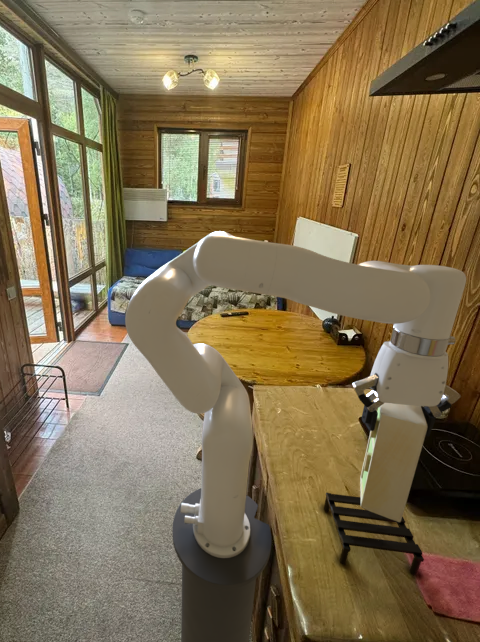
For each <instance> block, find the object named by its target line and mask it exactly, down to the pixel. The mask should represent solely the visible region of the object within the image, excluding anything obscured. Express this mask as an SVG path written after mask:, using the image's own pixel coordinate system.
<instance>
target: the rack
mask: <svg viewBox="0 0 480 642" xmlns="http://www.w3.org/2000/svg"><path fill="white" fill-rule="evenodd" d="M335 503H337V504H345V505H353V506H361V498H360V496H353V495H344V494H336V493H332V492H325V500H324V505H323V511H324V512H325V513H329V512H330V513H331V516H332V519H333V522H334V525H335V528H336V532H337V535H338V537H339V541H340V543H341V551H340V555H339V560H338V561H339V562H340V564H341V565H342V566H346V564H347V561H348V558H349V553H350V552H351V550H352V548H351V547H358V548H367V549H373V550H380V551H389V552H396V553H403V554H411V555H413V558H412V560H411V564H410V567H409V572H410V573H411V574H412V575H413V576H417V575H418V574H419V570H420V567H421V565H422V563H424V561H425V558H424V556H423V551H422V549H421V547H420V546H419V544H418V543H416V542H415V540H414V535H413V533H412V531H411V529H410V528H407V525H406V519H405V518H404V517H403V516H404V515H403V516H402V519H401V522H397V521H394V520H392V519H389V518H386V517H384V516H381V515H378V514H376V513H373V512H371V511H368V510H366V509H363V508H354V507H345V506H338V505H336V504H335ZM340 516H342V517H349V518H356V519H365V520H372V521H381V522H388V523H395V524H396V525H397V526H391V525H385V524H384V525H383V524H378V523H377V524H376V523H368V522H361V521H352V520H345V519H341V517H340ZM345 531H352V532H358V533H366V534H367V533H368V534H374V535H382V536H391V537H397V538H404V540H405V541H404V542H402V541H395V540H388V539H381V538H373V537H365V536H358V535H357V536H356V535H351V534H346V532H345Z"/></svg>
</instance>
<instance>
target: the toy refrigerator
mask: <svg viewBox="0 0 480 642" xmlns="http://www.w3.org/2000/svg"><path fill="white" fill-rule="evenodd" d="M376 411H377V412H378V416H377V420H376V425H375V429H374V430H373V431H369V436H368V440H367V445H366V450H365V454H364V459H363V463H362V468H361V472H360V478H359V486H360V487H359V488H360V489H359V494H360V495H359V497H360V498H361V505H360V507H361V509H363V510H368V511H371V512H373V513H376V514H378V515H381V516H384V517H386V518H389V519H392V520H394V521H397V522H401V519H402V516H404V512H405V508H406V506H407V502H408V498H409V494H410V491H411V487H412V484H413V480H414V477H415V474H416V470H417V467H418V463H419V460H420V456H421V452H422V449H423V445H424V442H425V438H426V436H425V435H426V431H427V423H426V420H425V417H424V414H423V411H422V408H421V406H415V405H403V404H392V403H384V404H383V405H381V406H380V407H379V408H377V409H376Z"/></svg>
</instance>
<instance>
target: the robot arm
mask: <svg viewBox="0 0 480 642" xmlns="http://www.w3.org/2000/svg"><path fill="white" fill-rule="evenodd" d="M466 282H467V275H466V273H465V272H464V271H462V270H460V269H459V268H454V267H451V266H445V265H437V264H416V265H407V264H402V263H401V264H400V263H393V262H388V261H383V260H368V261H364V262H360V263H352V262H347V261H343V260H340V259H336V258H332V257H330V256H326V255H323V254H321V253H318V252H316V251H314V250H311V249H307V248H305V247H301V246H297V245H294V244H293V245H292V244H285V243H278V242H272V241H271V242H269V241H264V240H257V239H256V240H255V239H252V238H251V239H250V238H245V237H239V236H234V235H233V234H231V233H229V232H226V231H221V230H219V231H213V232H210V233H208V234H207V235H206V236H204V237H203V238H201V239H199V241H198V242H196V243H195V244H193V245H192V246H191V247H189V248H187V249H186V250H185V251H183V252H182V253H180V254H179V255H177V256H176V257H174V258H173V259H172V260H170V261H168V262H167V263H165V264H163V265H162V266H160V267H159V268H158V269H157V270H155V271H154V272H153V273H152V274H150V275H149V276H148V277H147V278H145V279H144V280H143V281H142V282H141V284H139V286H138V287H137V288H136V289H135V291H134V292H133V294H132V296H131V297H130V299H129V302H128V305H127V306H126V307H127V308H126V310H125V316H124V317H125V318H124V322H125V328H126V332H127V335H128V338H129V339H130V341H131V343H132V344H133V345H134V347H135V348H136V349H137V350H138V351H139V352H140V353H141V355H142V356H143V357H144V358H145V359H146V360H147V362H148V363H149V364H150V366H151V367H152V369H153V370H154V371H155V373H156V374H157V375H158V377H159V378H160V379H161V380H162V382H163V383H164V384H165V386H166V387H167V389H168V390H169V391H170V393H172V395H173V396H174V397H175V399H176V400H177V401H178V403H179V404H180V405H181V406H182V407H183V408H184V409H185V410H187V411H188V412H190V413H192V414H196V415H197V414H198V415H200V414H201V415H202V414H204V415H203V423H202V432H201V483H200V485H201V486H200V487H201V499H200V504H197V503H196V504H195V505H190V504H186V503H182V502H181V503H182V504H181V503H180V504H181V513H185V514H188V513H189V514H195V515H194V517H191V516H185V520H184V523H188V524H190V523H191V524H193V532H194V536H195V539H196V540H197V542H198V544H199V545H200V547H201V548H202V549H203V550H204V551H206V552H207V553H209V554H210V555H212V556H215V557H218V558H230V557H234V556H236V555H238V554H240V553H241V552H242V551H243V550H244V549H245V547H246V546H247V544H248V542H249V538H250V523H249V520H248V518H247V516H246V514H245V503H246V495H247V490H248V479H249V470H250V469H249V468H250V460H251V456H252V451H253V446H254V445H253V444H254V431H253V421H252V420H253V419H252V412H251V401H250V395H249V393H248V391H247V389H246V388H245V386H244V385H243V383H242V381H241V380H240V379H239V377H238V376H237V374H236V373H235V372H234V371H233V369H232V368H231V366H230V365H229V363H228V362H227V361H226V359H225V358H224V356H223V355H222V353H220V352H219V351H218V350H217V349H216V348H214V347H213V346H211V345H209V344H206V343H200V342H199V343H193V342H192V340H191V339H190V337H188V335H187V334H186V333H185V332H184V331H183V330H182V329H181V328H180V327H178V326H177V321H178V319H179V317H180V315H181V314H182V313H183V312H184V309H185V308H186V306H187V304H188V302H189V300H190V299H192V298H193V297H194V296H196V295H198V294H199V293H200V292H202V291H203V290H206V289H207V288H208V287H210V286H213V287H218V288H224V289H230V290H236V291H242V292H246V293H253V294H260V295H264V296H271V297H276V298H281V299H286V300H290V301H292V302H294V303H297V304H300V305H303V306H308V307H311V308H315V309H318V310H321V311H325V312H328V313H332V314H335V315H338V316H343V317H347V318H352V319H357V320H361V321H363V320H364V321H369V322H375V323H380V324H381V323H382V324H390V325H393V326H392V330H391V334H390V339H389V341H384V342H383V344H382V345H381V346H380V348H379V350H378V353H377V355H376V357H375V359H374V363H373V366H372V368H371V372H370V374H369V376H367V377H364V378H363V379H359V380H356V381H354V382H352V383H351V387H352V388H353V390H354V392H355V395H356V397H357V398H358V399H359V401H360V402H361V403H362V404H363V408H362V409H363V410H362V414H361V421H362V423H363V424H364V425H365V426H366V428H367V430H368V431H369V432H370V431H373V430H374V429H375V425H376V420H377V416H378V412H377V411H376V409H377V408H379V407H380V406H381V405H383V404H384V403H392V404H403V405H415V406H421V408H422V411H423V414H424V417H425V420H426V423H427V431H426V435H425V437H430V436H431V433H432V430H433V429H434V425H435V422H436V419H437V418H441V416H442V413H443V412H445V411H447V410H449V409H451V407H452V404H453V405H454V404H455V403H456V402H457V401H458V400H459V399H460V398H461V394H460V393H458V392H457V390H455V389H453V388H452V387H450V386H449V385H447V380H448V373H449V372H448V371H449V354H448V352H447V349H448V346H449V345H455V344H456V342H457V340H456V337H455V336H453V335H451V334H452V330H453V327H454V324H455V321H456V317H457V313H458V310H459V308H460V305H461V304H460V303H461V300H462V297H463V294H464V291H465V288H466ZM367 389H370V390H371V391H370V392H368V393H367V394H366V393H365V391H366V390H367Z"/></svg>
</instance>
